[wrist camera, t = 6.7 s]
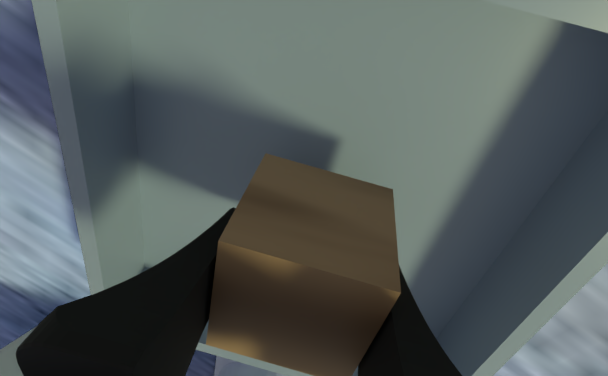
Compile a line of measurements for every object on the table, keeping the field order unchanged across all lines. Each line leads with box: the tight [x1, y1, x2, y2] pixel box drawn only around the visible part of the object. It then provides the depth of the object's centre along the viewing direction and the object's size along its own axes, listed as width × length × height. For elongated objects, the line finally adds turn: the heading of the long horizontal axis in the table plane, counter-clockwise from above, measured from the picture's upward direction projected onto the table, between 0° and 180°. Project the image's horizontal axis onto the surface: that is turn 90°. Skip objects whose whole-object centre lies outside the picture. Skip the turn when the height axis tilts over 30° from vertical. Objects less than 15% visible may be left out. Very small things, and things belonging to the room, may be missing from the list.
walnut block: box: [206, 153, 401, 376], centre depth 13 cm, size 5×5×5 cm
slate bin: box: [32, 0, 608, 376], centre depth 16 cm, size 20×20×4 cm
